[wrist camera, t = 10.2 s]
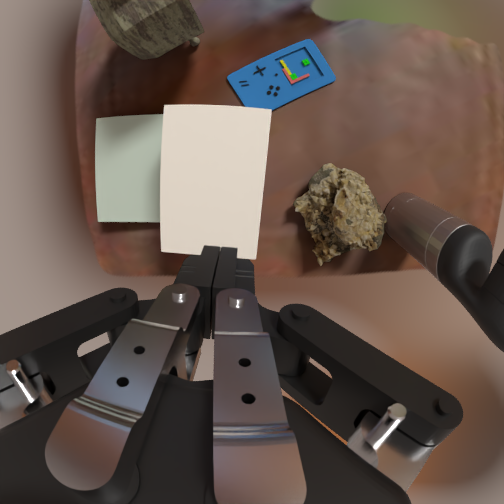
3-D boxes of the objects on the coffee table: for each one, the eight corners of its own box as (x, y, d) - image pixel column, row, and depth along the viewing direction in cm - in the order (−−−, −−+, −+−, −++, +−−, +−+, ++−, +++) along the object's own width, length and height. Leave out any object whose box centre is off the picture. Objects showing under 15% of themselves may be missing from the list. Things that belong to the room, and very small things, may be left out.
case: (265, 116, 38) (271, 109, 27) (254, 227, 45) (255, 259, 34) (186, 112, 38) (164, 105, 27) (181, 222, 45) (161, 251, 34)
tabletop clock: (211, 46, 33) (171, -37, 10) (160, 75, 35) (72, 27, 12) (174, -9, 28) (121, -91, 5) (127, 18, 30) (45, -40, 7)
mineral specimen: (273, 189, 43) (280, 205, 34) (340, 148, 40) (365, 153, 31) (316, 258, 48) (331, 288, 39) (377, 221, 45) (404, 242, 36)
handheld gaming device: (225, 76, 35) (310, 37, 32) (226, 77, 36) (309, 39, 33) (253, 120, 38) (338, 79, 35) (253, 120, 39) (335, 80, 36)
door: (179, 114, 36) (96, 118, 34) (174, 222, 43) (98, 221, 41) (180, 115, 38) (101, 118, 36) (176, 218, 45) (102, 217, 43)
